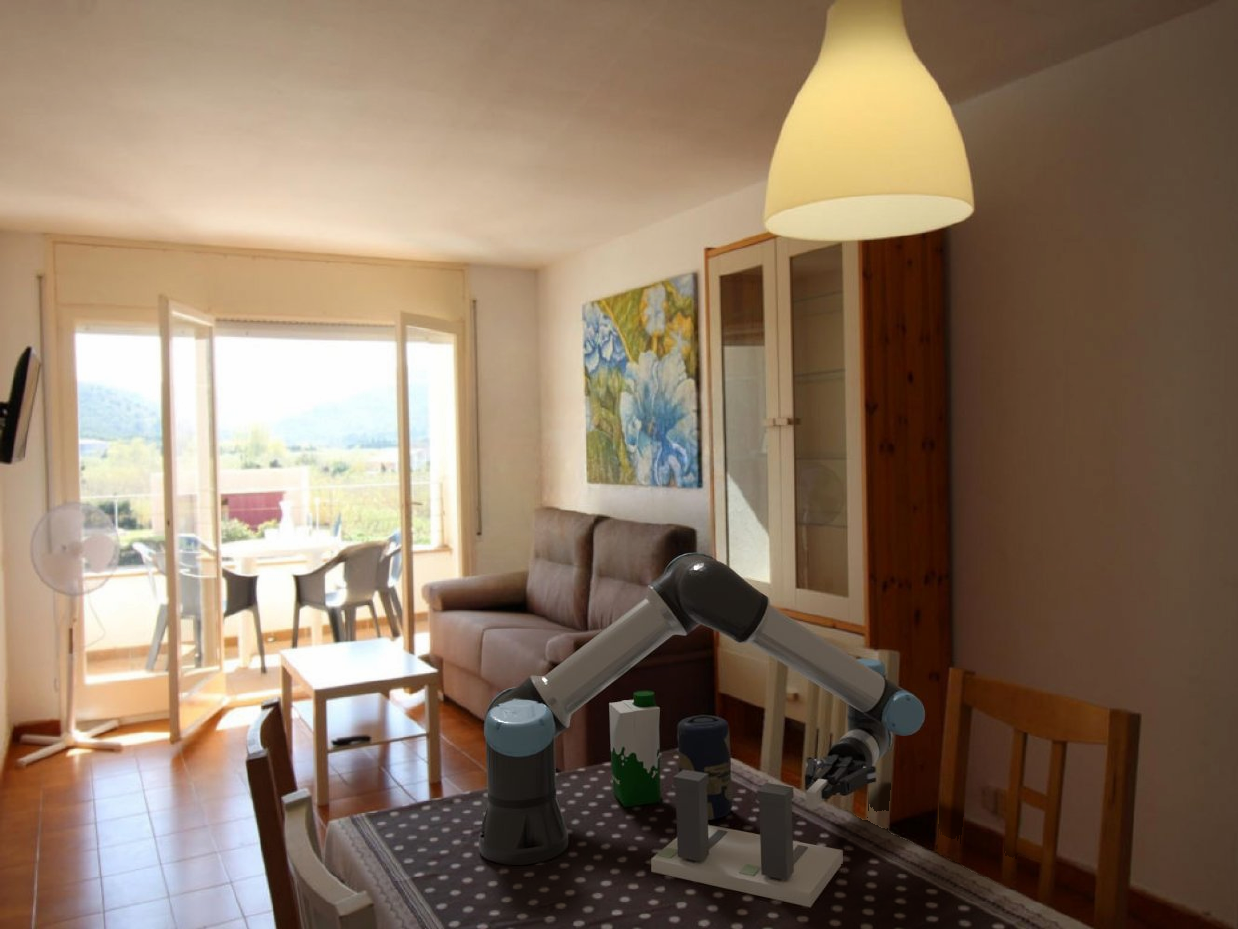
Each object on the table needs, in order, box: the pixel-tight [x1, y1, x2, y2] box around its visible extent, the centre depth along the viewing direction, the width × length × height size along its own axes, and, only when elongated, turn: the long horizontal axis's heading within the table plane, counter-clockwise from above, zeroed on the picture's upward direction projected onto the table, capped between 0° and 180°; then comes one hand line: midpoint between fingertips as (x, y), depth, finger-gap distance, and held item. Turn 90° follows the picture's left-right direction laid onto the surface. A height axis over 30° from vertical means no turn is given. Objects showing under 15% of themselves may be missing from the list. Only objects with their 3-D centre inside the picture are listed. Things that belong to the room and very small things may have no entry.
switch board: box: [650, 824, 844, 908], centre depth 150 cm, size 26×16×2 cm, turn 60°
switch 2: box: [756, 782, 794, 880], centre depth 142 cm, size 4×4×13 cm
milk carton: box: [608, 690, 662, 808], centre depth 180 cm, size 9×9×20 cm
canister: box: [677, 714, 733, 821], centre depth 172 cm, size 10×10×18 cm
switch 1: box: [672, 770, 709, 862], centre depth 149 cm, size 4×4×13 cm
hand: (810, 800), depth 155 cm, fingers closed
